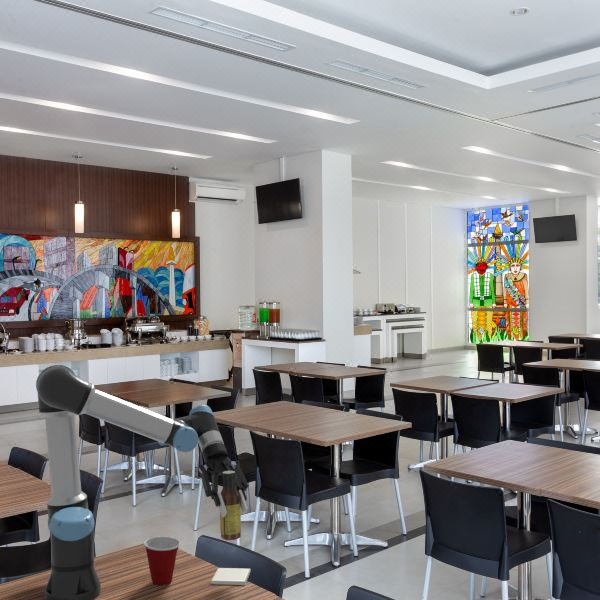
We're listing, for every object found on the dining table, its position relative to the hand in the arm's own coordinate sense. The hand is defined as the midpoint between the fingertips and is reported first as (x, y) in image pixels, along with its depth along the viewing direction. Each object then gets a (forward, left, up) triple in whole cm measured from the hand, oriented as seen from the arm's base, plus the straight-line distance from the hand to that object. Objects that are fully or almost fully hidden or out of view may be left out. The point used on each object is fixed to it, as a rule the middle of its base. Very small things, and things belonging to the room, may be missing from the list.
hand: (235, 512), depth 207 cm
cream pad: (-2, +2, -20) cm, 21 cm away
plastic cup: (-22, -2, -21) cm, 30 cm away
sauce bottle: (-2, +3, -9) cm, 9 cm away
